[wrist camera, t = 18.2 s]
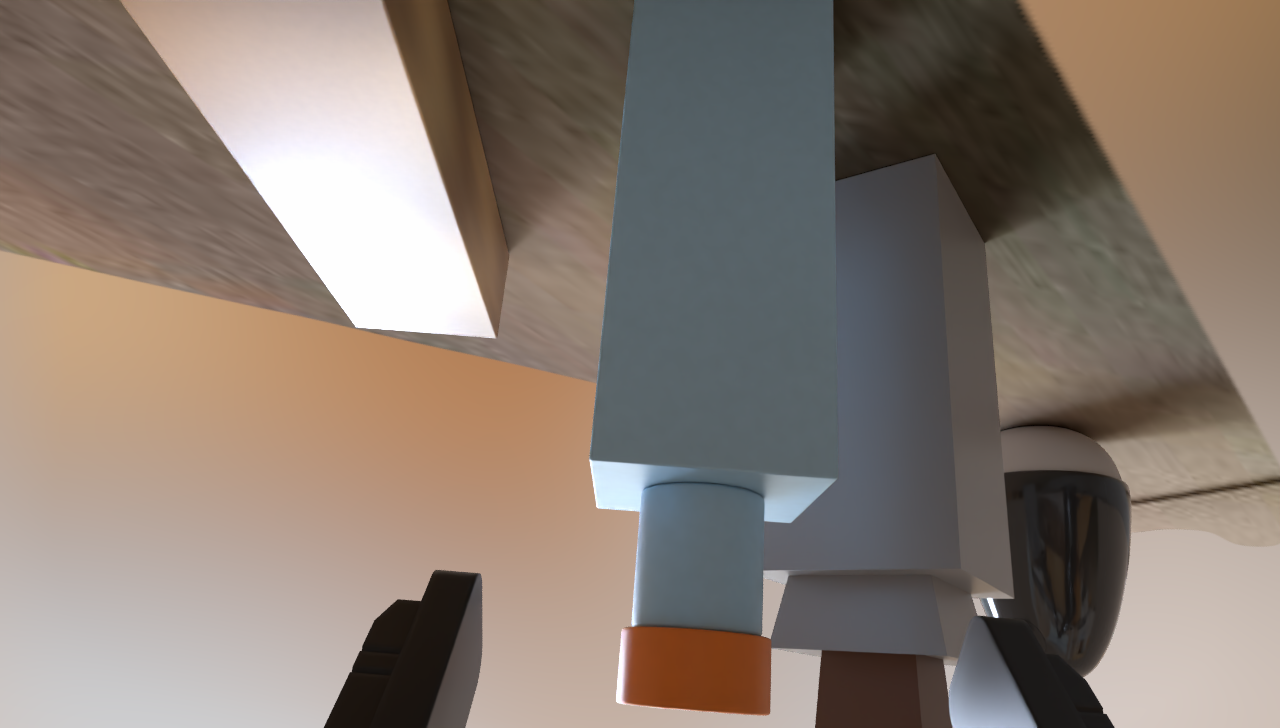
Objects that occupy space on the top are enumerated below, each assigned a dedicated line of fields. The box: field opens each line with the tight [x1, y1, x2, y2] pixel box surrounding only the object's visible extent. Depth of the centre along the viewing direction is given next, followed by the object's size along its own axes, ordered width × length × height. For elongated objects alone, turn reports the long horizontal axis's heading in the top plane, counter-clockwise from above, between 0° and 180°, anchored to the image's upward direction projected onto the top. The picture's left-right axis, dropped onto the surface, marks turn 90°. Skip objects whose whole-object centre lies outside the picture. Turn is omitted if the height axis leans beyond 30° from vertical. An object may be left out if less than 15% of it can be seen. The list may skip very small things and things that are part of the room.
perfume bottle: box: [763, 154, 1014, 728], centre depth 29 cm, size 7×7×18 cm
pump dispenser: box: [979, 426, 1131, 677], centre depth 52 cm, size 10×10×15 cm
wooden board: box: [120, 0, 509, 338], centre depth 26 cm, size 22×6×4 cm, turn 178°
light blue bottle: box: [590, 0, 838, 715], centre depth 21 cm, size 18×5×5 cm
